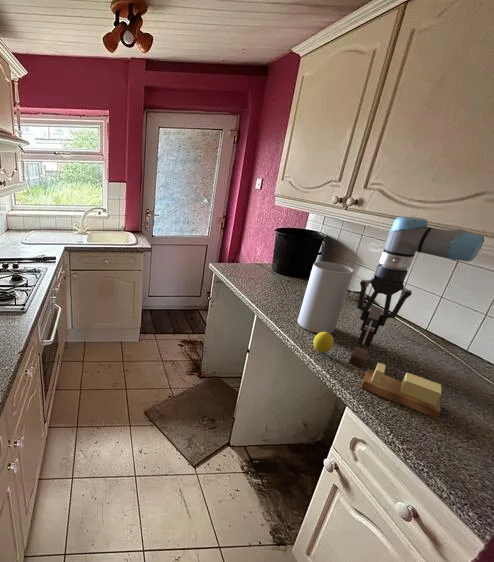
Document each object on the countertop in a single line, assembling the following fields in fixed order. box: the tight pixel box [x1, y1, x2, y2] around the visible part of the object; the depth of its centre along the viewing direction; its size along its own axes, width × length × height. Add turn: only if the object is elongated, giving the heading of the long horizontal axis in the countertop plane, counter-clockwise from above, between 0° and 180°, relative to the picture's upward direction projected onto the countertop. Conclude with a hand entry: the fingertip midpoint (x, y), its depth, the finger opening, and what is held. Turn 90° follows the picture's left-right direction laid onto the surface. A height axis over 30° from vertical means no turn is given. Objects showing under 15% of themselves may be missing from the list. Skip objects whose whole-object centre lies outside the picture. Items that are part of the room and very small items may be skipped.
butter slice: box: [372, 362, 387, 384], centre depth 89 cm, size 2×5×4 cm, turn 137°
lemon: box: [312, 332, 335, 354], centre depth 105 cm, size 6×6×8 cm
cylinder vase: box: [297, 261, 355, 335], centre depth 118 cm, size 12×12×25 cm
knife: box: [361, 305, 383, 346], centre depth 102 cm, size 3×21×6 cm, turn 136°
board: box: [360, 368, 441, 419], centre depth 87 cm, size 16×8×2 cm, turn 46°
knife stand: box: [348, 325, 375, 369], centre depth 105 cm, size 4×20×6 cm, turn 136°
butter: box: [400, 372, 442, 406], centre depth 84 cm, size 7×5×4 cm
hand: (368, 330), depth 107 cm, fingers closed on knife, 3 cm apart
